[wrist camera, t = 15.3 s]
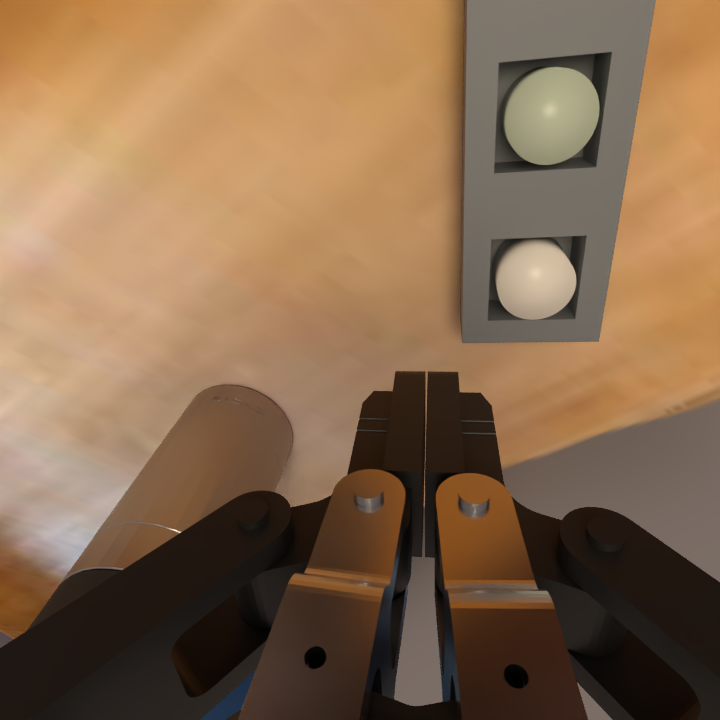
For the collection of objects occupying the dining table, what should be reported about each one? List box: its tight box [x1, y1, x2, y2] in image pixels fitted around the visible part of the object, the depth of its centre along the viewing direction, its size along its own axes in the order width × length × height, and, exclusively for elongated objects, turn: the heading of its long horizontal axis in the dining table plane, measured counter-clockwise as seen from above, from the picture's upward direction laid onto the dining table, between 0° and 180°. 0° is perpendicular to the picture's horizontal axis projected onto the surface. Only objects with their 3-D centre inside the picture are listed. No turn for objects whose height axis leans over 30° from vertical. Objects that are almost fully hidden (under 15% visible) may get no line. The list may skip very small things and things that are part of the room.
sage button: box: [500, 66, 599, 165], centre depth 26 cm, size 4×4×3 cm
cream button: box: [493, 237, 576, 320], centre depth 30 cm, size 4×4×3 cm
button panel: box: [460, 0, 656, 343], centre depth 27 cm, size 25×8×4 cm, turn 5°
